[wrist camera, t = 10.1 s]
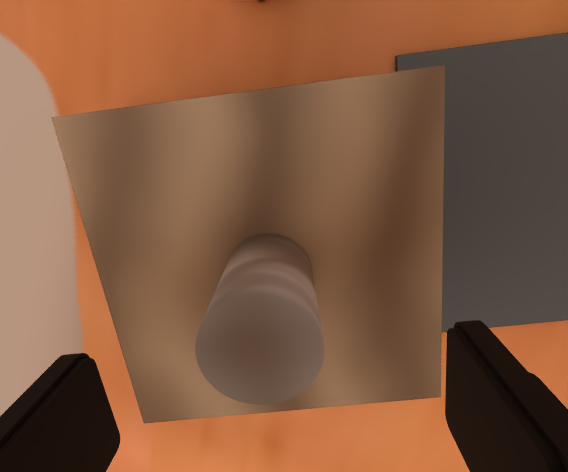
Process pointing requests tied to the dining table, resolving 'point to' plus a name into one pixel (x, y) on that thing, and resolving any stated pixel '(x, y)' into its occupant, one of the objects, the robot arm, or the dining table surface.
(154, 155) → the walnut lid
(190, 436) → the dining table surface
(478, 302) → the rubber mat
